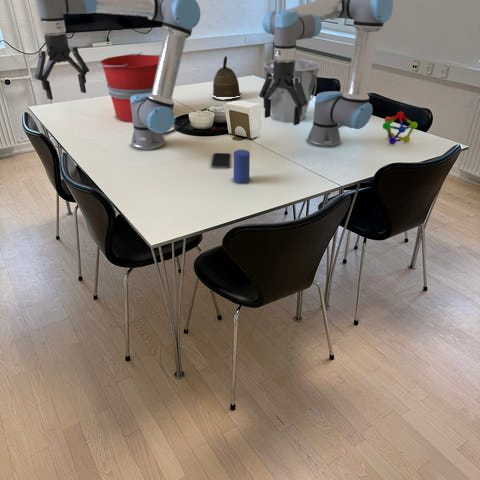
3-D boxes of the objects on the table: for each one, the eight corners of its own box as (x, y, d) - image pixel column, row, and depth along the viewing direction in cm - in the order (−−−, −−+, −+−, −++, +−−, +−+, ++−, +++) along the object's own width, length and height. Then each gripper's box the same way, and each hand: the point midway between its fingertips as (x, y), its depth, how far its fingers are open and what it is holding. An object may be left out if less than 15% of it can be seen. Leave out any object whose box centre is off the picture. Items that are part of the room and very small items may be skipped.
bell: (227, 105, 294) (202, 96, 282) (238, 66, 289) (213, 55, 277) (243, 108, 280) (217, 98, 268) (255, 66, 275) (229, 55, 263)
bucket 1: (116, 106, 262) (108, 51, 246) (175, 107, 261) (171, 52, 245) (98, 124, 233) (88, 63, 217) (164, 125, 232) (159, 64, 216)
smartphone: (211, 166, 183) (213, 153, 196) (211, 167, 184) (213, 154, 196) (229, 166, 183) (230, 153, 196) (229, 168, 184) (230, 154, 196)
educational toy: (377, 146, 209) (379, 114, 202) (384, 138, 219) (386, 107, 211) (411, 149, 202) (415, 116, 195) (417, 141, 212) (420, 109, 204)
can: (238, 184, 170) (238, 156, 164) (230, 179, 175) (230, 151, 168) (252, 181, 173) (252, 153, 166) (244, 176, 177) (244, 148, 171)
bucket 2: (289, 128, 228) (292, 72, 213) (250, 116, 247) (251, 63, 232) (326, 117, 245) (332, 64, 230) (287, 106, 263) (290, 56, 249)
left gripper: (25, 38, 145) (40, 103, 156) (92, 31, 161) (101, 91, 172) (15, 36, 149) (30, 100, 161) (81, 29, 165) (91, 88, 176)
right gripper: (250, 57, 159) (250, 116, 170) (307, 66, 144) (303, 130, 156) (263, 54, 163) (262, 111, 175) (320, 63, 149) (315, 125, 161)
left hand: (67, 95), depth 166 cm, fingers open, 13 cm apart
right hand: (281, 120), depth 165 cm, fingers open, 13 cm apart
